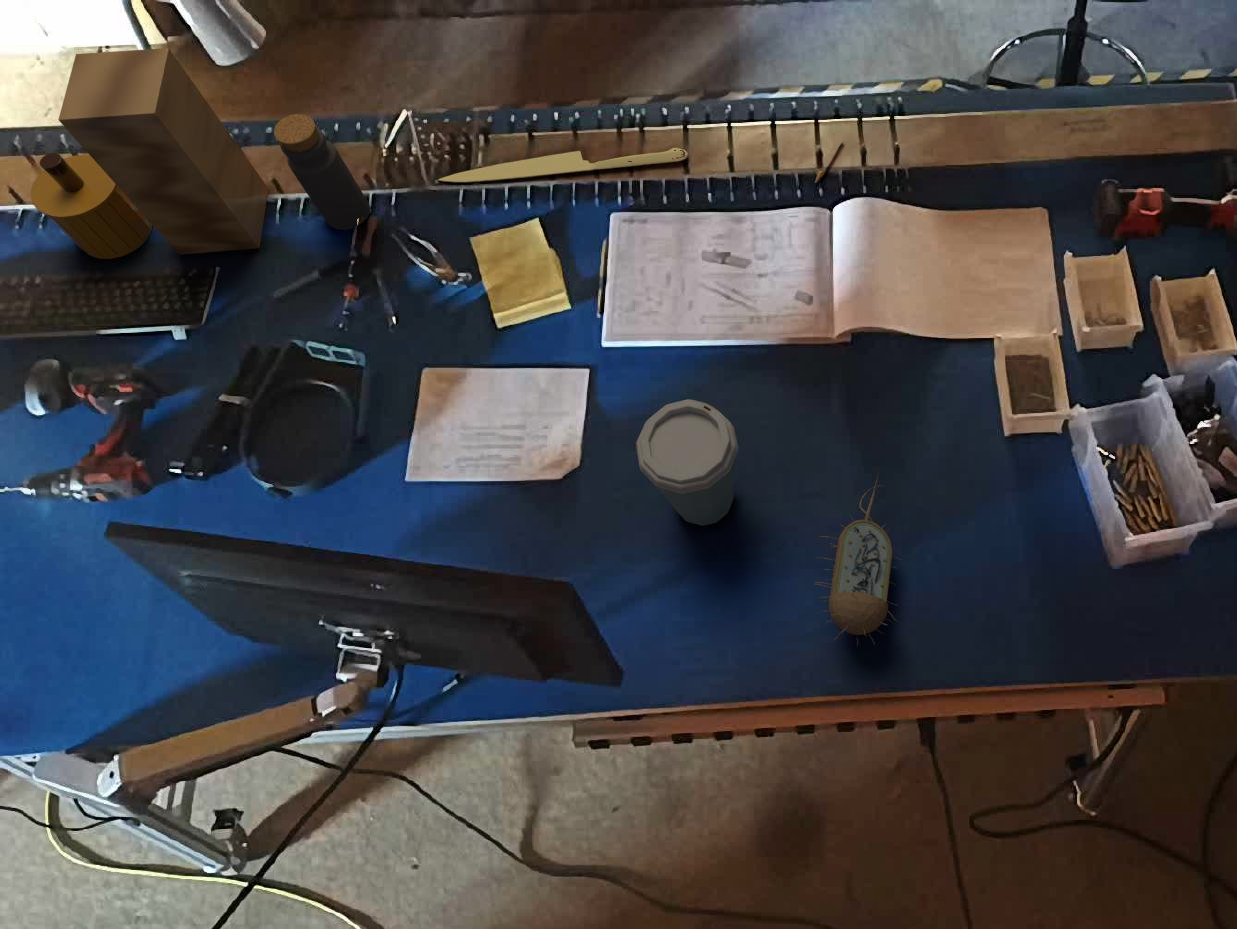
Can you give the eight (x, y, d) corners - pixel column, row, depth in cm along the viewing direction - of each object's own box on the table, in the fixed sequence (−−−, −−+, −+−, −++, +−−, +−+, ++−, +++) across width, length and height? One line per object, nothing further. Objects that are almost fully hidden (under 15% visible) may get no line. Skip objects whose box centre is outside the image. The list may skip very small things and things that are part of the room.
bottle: (315, 219, 139) (257, 135, 125) (345, 189, 141) (291, 103, 128) (350, 237, 138) (296, 153, 124) (380, 206, 140) (330, 121, 127)
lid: (15, 195, 129) (-13, 168, 125) (82, 145, 133) (57, 117, 129) (69, 232, 127) (42, 205, 123) (136, 180, 131) (112, 152, 127)
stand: (178, 254, 136) (57, 119, 115) (190, 194, 140) (75, 53, 119) (259, 248, 137) (154, 113, 116) (268, 188, 141) (168, 47, 120)
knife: (436, 162, 143) (434, 185, 141) (685, 134, 146) (687, 155, 144) (439, 170, 144) (438, 192, 142) (686, 141, 147) (689, 163, 145)
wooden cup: (63, 237, 136) (19, 195, 129) (120, 193, 140) (81, 149, 133) (110, 270, 135) (68, 228, 127) (167, 224, 138) (130, 181, 131)
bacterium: (893, 499, 126) (939, 470, 118) (873, 663, 118) (920, 644, 110) (815, 470, 122) (856, 438, 114) (788, 639, 113) (830, 617, 105)
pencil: (843, 142, 147) (843, 139, 147) (817, 185, 144) (817, 182, 143) (838, 140, 147) (838, 137, 147) (812, 184, 144) (812, 180, 143)
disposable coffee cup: (713, 558, 120) (696, 502, 107) (637, 513, 122) (610, 451, 109) (766, 487, 124) (756, 424, 111) (691, 444, 126) (672, 377, 113)
